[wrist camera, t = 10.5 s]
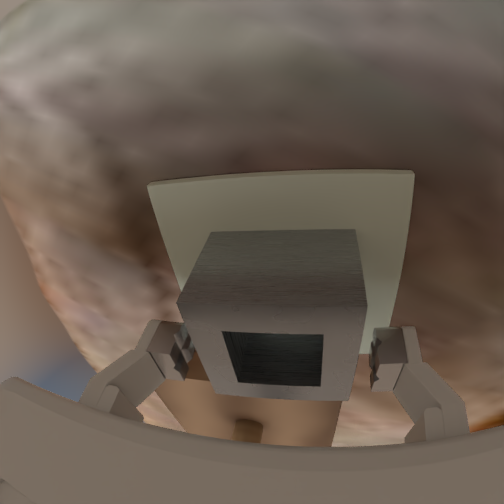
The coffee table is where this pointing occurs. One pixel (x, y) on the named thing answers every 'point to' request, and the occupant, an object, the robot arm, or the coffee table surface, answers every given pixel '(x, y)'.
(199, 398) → the peg stand
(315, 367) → the collar
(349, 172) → the pad
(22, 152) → the coffee table surface
